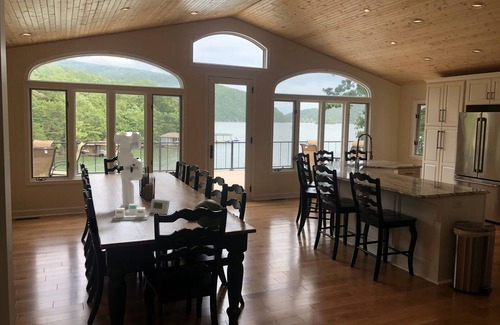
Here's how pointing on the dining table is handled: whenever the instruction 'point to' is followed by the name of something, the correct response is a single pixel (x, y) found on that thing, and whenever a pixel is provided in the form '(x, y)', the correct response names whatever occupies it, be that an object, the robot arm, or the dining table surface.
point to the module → (132, 209)
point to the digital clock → (159, 206)
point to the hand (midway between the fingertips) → (125, 172)
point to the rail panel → (122, 217)
